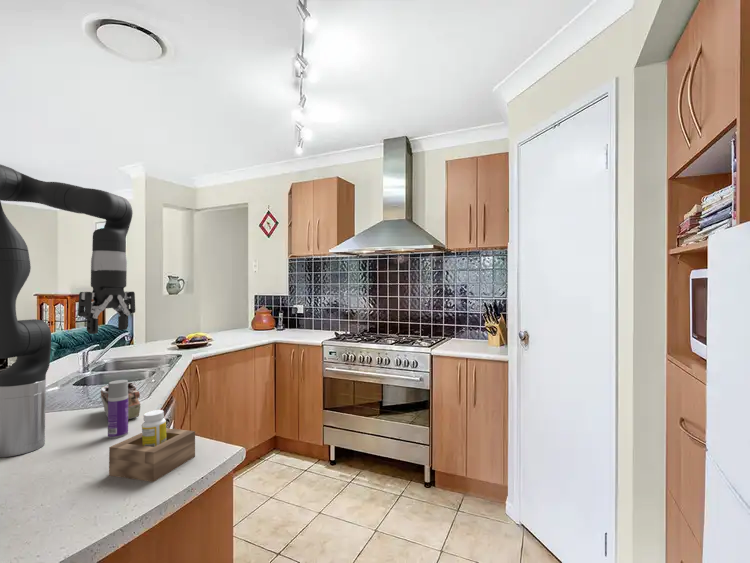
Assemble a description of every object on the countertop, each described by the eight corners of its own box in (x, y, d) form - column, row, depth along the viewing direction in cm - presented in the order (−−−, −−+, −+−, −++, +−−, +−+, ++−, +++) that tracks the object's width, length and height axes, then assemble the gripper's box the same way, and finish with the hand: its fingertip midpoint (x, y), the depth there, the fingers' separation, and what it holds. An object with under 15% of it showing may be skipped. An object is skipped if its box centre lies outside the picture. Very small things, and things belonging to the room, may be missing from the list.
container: (130, 434, 102) (130, 381, 102) (109, 440, 98) (110, 384, 99) (125, 430, 105) (126, 378, 105) (105, 435, 102) (106, 381, 102)
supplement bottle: (162, 442, 87) (162, 407, 87) (169, 448, 84) (168, 411, 84) (139, 449, 84) (139, 413, 84) (146, 455, 81) (145, 417, 81)
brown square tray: (108, 477, 79) (109, 447, 79) (154, 453, 91) (154, 427, 91) (153, 483, 76) (153, 452, 76) (195, 458, 88) (195, 431, 88)
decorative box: (87, 430, 106) (87, 397, 106) (89, 412, 122) (89, 383, 122) (140, 420, 114) (140, 389, 114) (135, 404, 130) (136, 377, 130)
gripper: (120, 271, 102) (120, 328, 102) (69, 268, 88) (68, 334, 87) (143, 270, 101) (143, 329, 100) (95, 267, 87) (94, 335, 86)
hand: (108, 331), depth 94 cm, fingers open, 8 cm apart
